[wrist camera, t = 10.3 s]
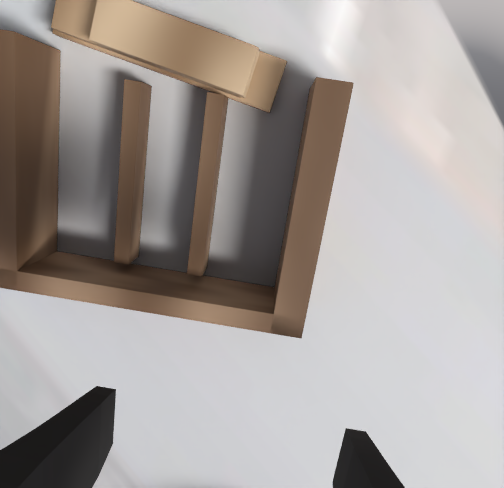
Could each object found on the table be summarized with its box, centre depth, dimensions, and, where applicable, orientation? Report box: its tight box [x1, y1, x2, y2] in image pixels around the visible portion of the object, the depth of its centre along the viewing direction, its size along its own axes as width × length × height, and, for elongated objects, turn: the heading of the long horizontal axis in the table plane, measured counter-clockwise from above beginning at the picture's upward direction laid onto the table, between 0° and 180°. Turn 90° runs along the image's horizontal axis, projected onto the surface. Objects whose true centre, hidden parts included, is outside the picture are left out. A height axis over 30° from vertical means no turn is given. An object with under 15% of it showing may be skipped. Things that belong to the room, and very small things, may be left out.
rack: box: [0, 29, 353, 338], centre depth 19 cm, size 16×12×4 cm
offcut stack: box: [51, 0, 287, 113], centre depth 18 cm, size 11×2×3 cm, turn 71°
